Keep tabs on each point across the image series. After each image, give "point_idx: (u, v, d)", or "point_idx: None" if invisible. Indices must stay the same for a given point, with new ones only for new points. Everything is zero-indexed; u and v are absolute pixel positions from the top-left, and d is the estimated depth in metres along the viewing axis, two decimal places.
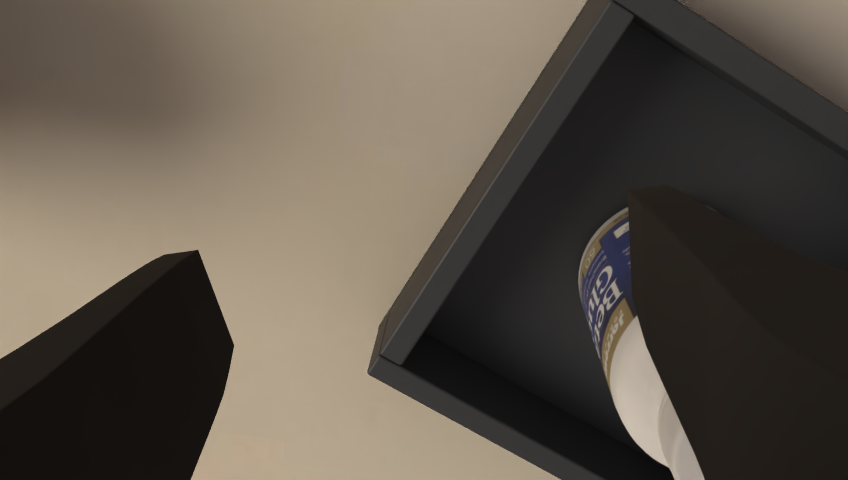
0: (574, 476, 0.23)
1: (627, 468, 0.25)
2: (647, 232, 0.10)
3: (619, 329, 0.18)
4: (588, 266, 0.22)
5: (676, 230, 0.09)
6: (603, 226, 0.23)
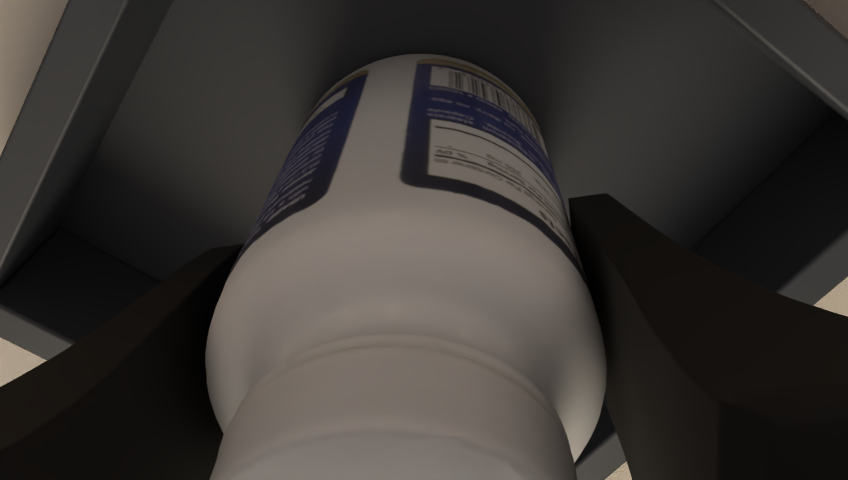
0: None
1: (739, 262, 0.15)
2: (582, 242, 0.10)
3: None
4: None
5: (603, 240, 0.09)
6: None
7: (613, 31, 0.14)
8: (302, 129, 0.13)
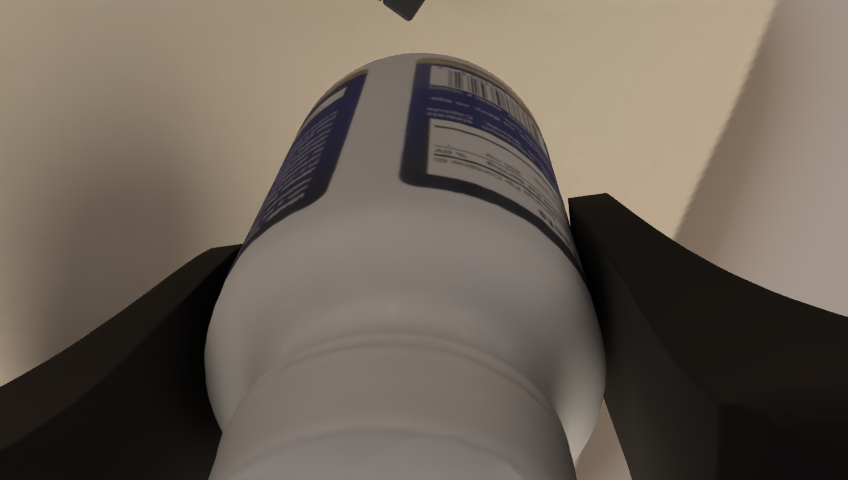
0: None
1: None
2: (581, 242, 0.10)
3: None
4: None
5: (602, 240, 0.09)
6: None
7: None
8: (301, 128, 0.13)
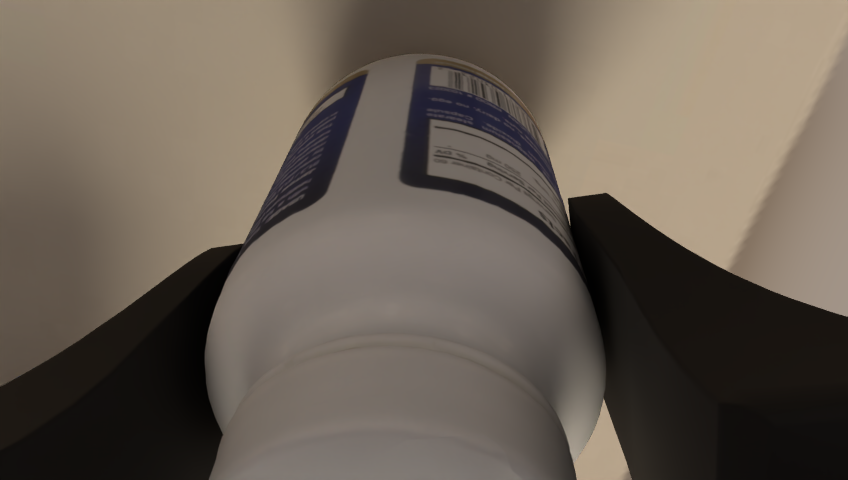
0: None
1: None
2: (582, 242, 0.10)
3: None
4: None
5: (603, 240, 0.09)
6: None
7: None
8: (302, 129, 0.13)
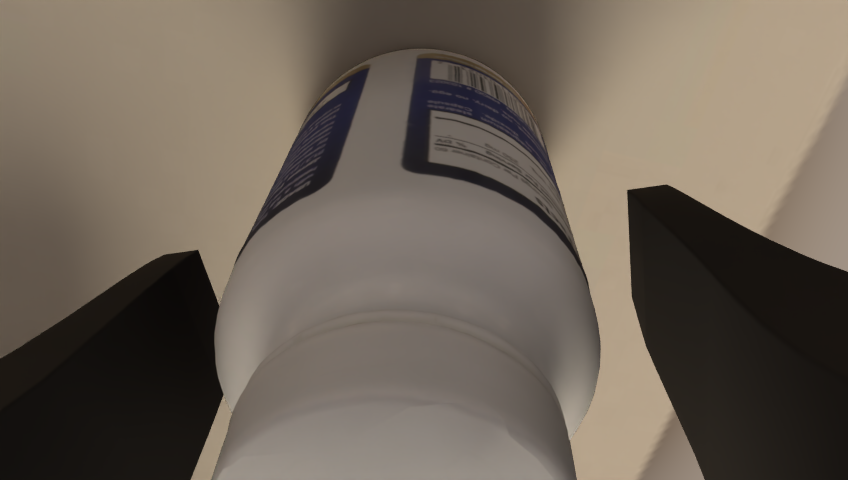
0: None
1: None
2: (647, 233, 0.10)
3: None
4: None
5: (676, 230, 0.09)
6: None
7: None
8: (305, 122, 0.14)
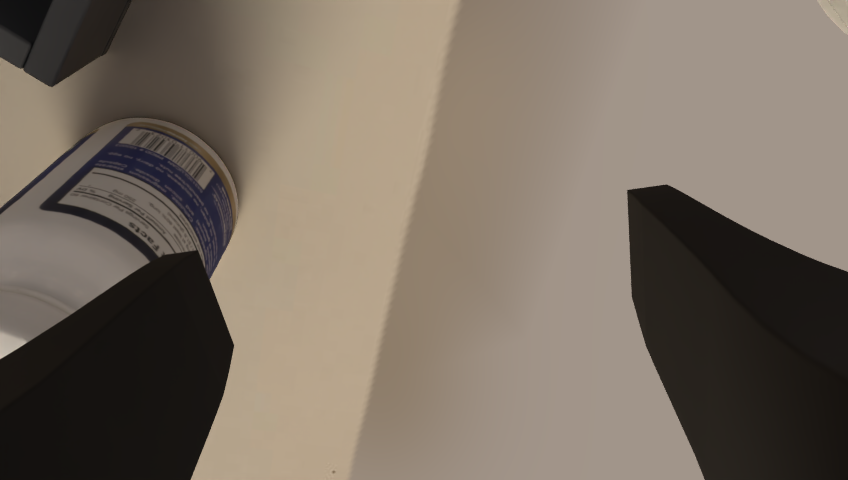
0: None
1: None
2: (647, 233, 0.10)
3: None
4: None
5: (676, 230, 0.09)
6: None
7: None
8: None
